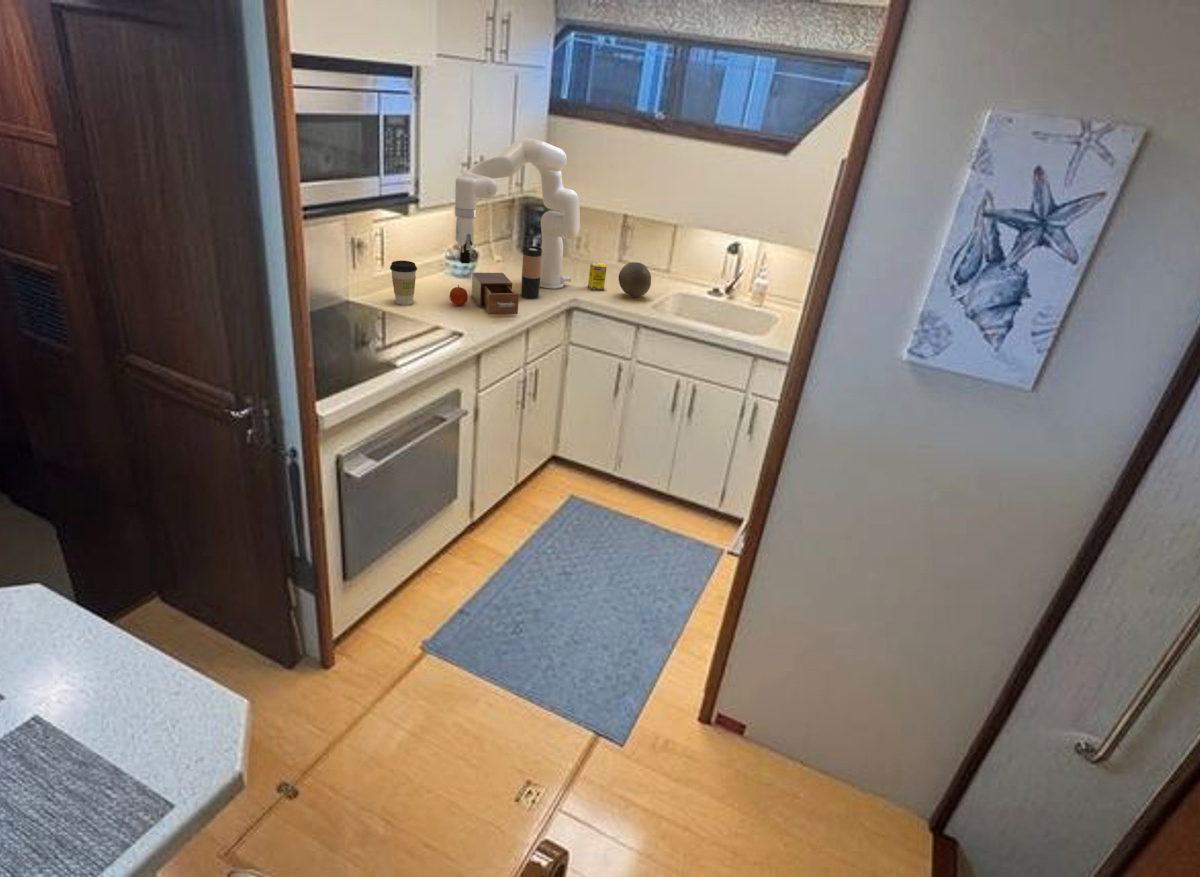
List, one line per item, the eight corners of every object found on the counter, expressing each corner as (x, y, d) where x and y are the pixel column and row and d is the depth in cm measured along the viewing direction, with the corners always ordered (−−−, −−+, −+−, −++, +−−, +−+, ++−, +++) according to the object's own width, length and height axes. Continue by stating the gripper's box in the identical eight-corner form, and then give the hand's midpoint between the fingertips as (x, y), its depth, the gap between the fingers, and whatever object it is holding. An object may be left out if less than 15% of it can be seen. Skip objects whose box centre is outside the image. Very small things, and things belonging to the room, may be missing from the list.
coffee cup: (418, 306, 262) (417, 267, 255) (391, 306, 259) (390, 266, 252) (416, 298, 270) (416, 260, 263) (390, 298, 267) (389, 259, 260)
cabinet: (511, 306, 274) (512, 283, 270) (480, 307, 269) (480, 283, 265) (501, 295, 286) (502, 272, 281) (471, 295, 281) (472, 272, 277)
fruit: (471, 304, 271) (471, 285, 267) (460, 309, 265) (460, 288, 261) (456, 301, 273) (456, 281, 269) (445, 304, 268) (445, 284, 264)
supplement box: (591, 290, 307) (594, 266, 302) (587, 286, 312) (590, 262, 306) (604, 290, 309) (607, 266, 303) (600, 286, 313) (602, 262, 308)
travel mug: (535, 300, 285) (539, 251, 276) (518, 297, 286) (520, 248, 277) (541, 295, 292) (544, 247, 283) (523, 292, 293) (526, 245, 284)
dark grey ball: (628, 290, 314) (632, 257, 306) (654, 298, 307) (659, 264, 300) (610, 295, 303) (614, 261, 296) (637, 304, 296) (642, 269, 289)
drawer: (521, 318, 261) (522, 297, 257) (491, 318, 257) (492, 298, 253) (508, 302, 275) (509, 283, 272) (480, 303, 271) (480, 283, 267)
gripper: (451, 208, 256) (450, 257, 265) (460, 216, 244) (459, 268, 253) (471, 208, 259) (470, 257, 268) (480, 217, 247) (479, 268, 256)
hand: (465, 262), depth 260 cm, fingers closed
